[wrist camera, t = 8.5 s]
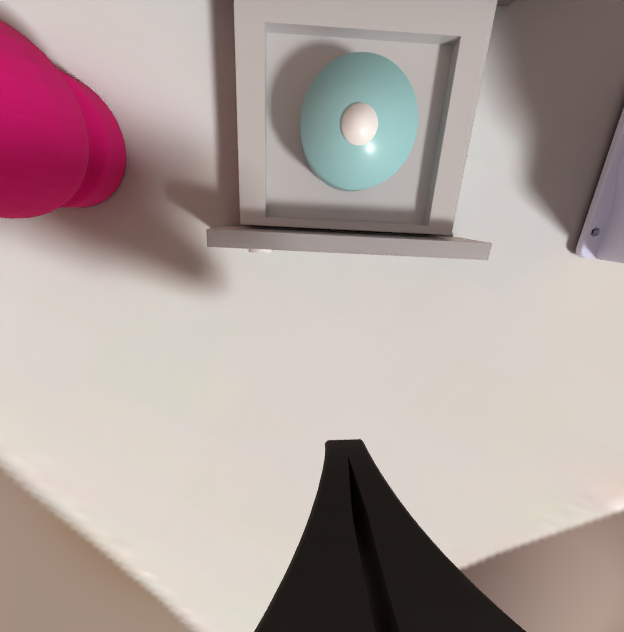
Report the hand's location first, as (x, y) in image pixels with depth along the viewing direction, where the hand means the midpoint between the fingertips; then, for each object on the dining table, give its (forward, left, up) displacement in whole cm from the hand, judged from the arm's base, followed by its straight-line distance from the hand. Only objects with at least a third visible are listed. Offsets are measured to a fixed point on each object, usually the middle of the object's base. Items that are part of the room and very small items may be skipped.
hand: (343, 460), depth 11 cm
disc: (+13, 0, -8) cm, 15 cm away
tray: (+14, 0, -9) cm, 16 cm away
